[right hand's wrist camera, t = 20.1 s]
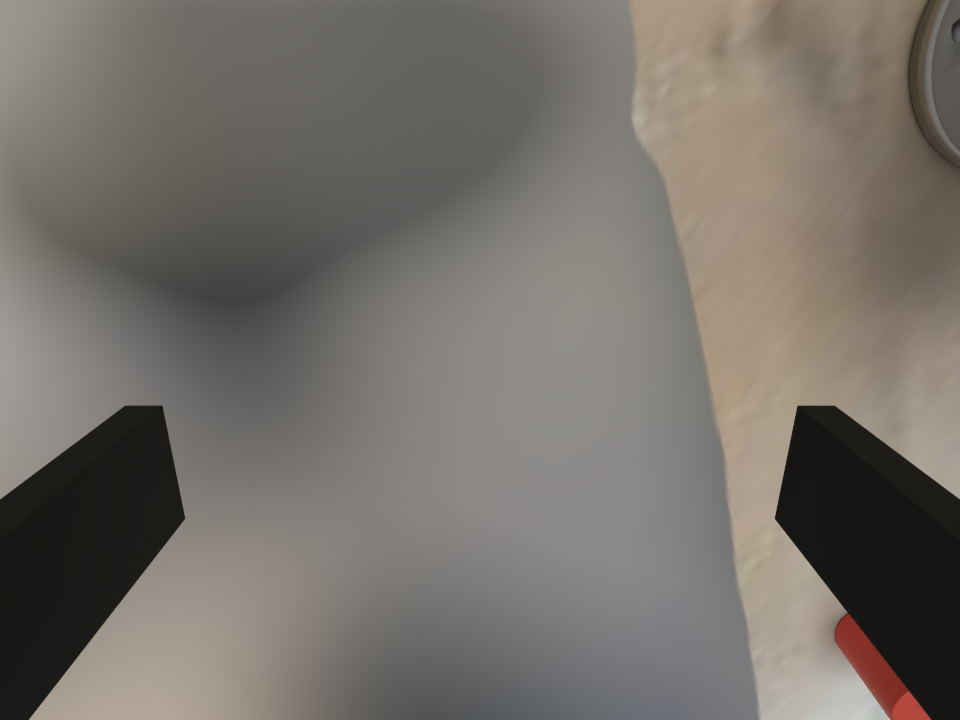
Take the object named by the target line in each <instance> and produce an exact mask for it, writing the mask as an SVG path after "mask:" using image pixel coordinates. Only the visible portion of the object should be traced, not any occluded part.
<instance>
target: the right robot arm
mask: <svg viewBox="0 0 960 720" xmlns="http://www.w3.org/2000/svg"><path fill="white" fill-rule="evenodd" d="M910 91H911V98H912V104H913V108H914V112H915V115H916V118H917V121H918V123H919V126H920V128H921V130H922V132H923V134H924V135H925V137H926V138H927V140H928V141H929V143H930V144H931V145H932V146H933V147H934V148H935V150H936V151H937V152H938V153H940V154H941V155H942V156H943V157H944V158H945V159H947V160H948V161H950V162H951V163H953V164H955V165H956V166H958V167H960V0H930V2H929V4H928V6H927V8H926V10H925V13H924V15H923V17H922V20H921V22H920V25H919V28H918V31H917V35H916V38H915V42H914V47H913V51H912V58H911V67H910ZM184 519H185V515H184V510H183V506H182V501H181V496H180V491H179V486H178V481H177V476H176V471H175V466H174V461H173V456H172V451H171V446H170V441H169V436H168V431H167V426H166V422H165V416H164V412H163V406H124V407H123V408H122V409H120V410H119V411H118V412H116V413H115V414H114V415H112V416H111V417H110V418H108V419H107V420H106V421H104V422H103V423H102V424H100V425H99V426H98V427H96V428H95V429H94V430H92V431H91V432H90V433H88V434H87V435H86V436H84V437H83V438H82V439H80V440H79V441H78V442H76V443H75V444H74V445H72V446H71V447H70V448H68V449H67V450H66V451H64V452H63V453H62V454H60V455H59V456H58V457H56V458H55V459H54V460H52V461H51V462H50V463H48V464H47V465H46V466H44V467H43V468H42V469H40V470H39V471H38V472H36V473H35V474H34V475H32V476H31V477H30V478H28V479H27V480H26V481H24V482H23V483H22V484H20V485H19V486H18V487H16V488H15V489H14V490H12V491H11V492H10V493H8V494H7V495H6V496H4V497H3V498H2V499H0V720H29V719H30V717H31V716H32V715H33V714H34V712H35V711H36V710H37V708H38V707H39V706H40V705H41V703H42V702H43V701H44V699H45V698H46V697H47V696H48V694H49V693H50V692H51V690H52V689H53V688H54V687H55V685H56V684H57V683H58V681H59V680H60V679H61V678H62V676H63V675H64V674H65V672H66V671H67V670H68V669H69V667H70V666H71V665H72V663H73V662H74V661H75V660H76V658H77V657H78V656H79V654H80V653H81V652H82V651H83V649H84V648H85V647H86V645H87V644H88V643H89V642H90V640H91V639H92V638H93V636H94V635H95V634H96V633H97V631H98V630H99V629H100V627H101V626H102V625H103V624H104V622H105V621H106V620H107V618H108V617H109V616H110V615H111V613H112V612H113V611H114V609H115V608H116V607H117V606H118V604H119V603H120V602H121V600H122V599H123V598H124V597H125V595H126V594H127V593H128V591H129V590H130V589H131V588H132V586H133V585H134V584H135V582H136V581H137V580H138V579H139V577H140V576H141V575H142V573H143V572H144V571H145V570H146V568H147V567H148V566H149V565H150V563H151V562H152V561H153V559H154V558H155V557H156V556H157V554H158V553H159V552H160V550H161V549H162V548H163V547H164V545H165V544H166V543H167V541H168V540H169V539H170V538H171V536H172V535H173V534H174V532H175V531H176V530H177V528H178V527H179V526H180V525H181V523H182V522H183V521H184ZM775 520H776V521H777V522H778V523H779V525H780V526H781V527H782V529H783V530H784V531H785V532H786V534H787V535H788V536H789V538H790V539H791V540H792V541H793V543H794V544H795V545H796V547H797V548H798V549H799V550H800V552H801V553H802V554H803V556H804V557H805V558H806V559H807V561H808V562H809V563H810V565H811V566H812V567H813V568H814V570H815V571H816V572H817V574H818V575H819V576H820V577H821V579H822V580H823V581H824V582H825V584H826V585H827V586H828V588H829V589H830V590H831V591H832V593H833V594H834V595H835V597H836V598H837V599H838V600H839V602H840V603H841V604H842V606H843V607H844V608H845V609H846V611H847V612H848V613H849V615H850V616H851V617H852V618H853V620H854V621H855V622H856V624H857V625H858V626H859V627H860V629H861V630H862V631H863V633H864V634H865V635H866V636H867V638H868V639H869V640H870V642H871V643H872V644H873V645H874V647H875V648H876V649H877V651H878V652H879V653H880V654H881V656H882V657H883V658H884V660H885V661H886V662H887V663H888V665H889V666H890V667H891V669H892V670H893V671H894V672H895V674H896V675H897V676H898V678H899V679H900V680H901V681H902V683H903V684H904V685H905V687H906V688H907V689H908V690H909V692H910V693H911V694H912V696H913V697H914V698H915V699H916V701H917V702H918V703H919V705H920V706H921V707H922V708H923V710H924V711H925V712H926V714H927V715H928V716H929V717H930V719H931V720H960V499H958V498H957V497H956V496H954V495H953V494H952V493H950V492H949V491H948V490H946V489H945V488H944V487H942V486H941V485H940V484H938V483H937V482H936V481H934V480H933V479H932V478H930V477H929V476H928V475H926V474H925V473H924V472H922V471H921V470H920V469H918V468H917V467H916V466H914V465H913V464H912V463H910V462H909V461H908V460H906V459H905V458H904V457H902V456H901V455H900V454H898V453H897V452H896V451H894V450H893V449H892V448H890V447H889V446H888V445H886V444H885V443H884V442H882V441H881V440H880V439H878V438H877V437H876V436H874V435H873V434H872V433H870V432H869V431H868V430H866V429H865V428H864V427H862V426H861V425H860V424H858V423H857V422H856V421H854V420H853V419H852V418H850V417H849V416H848V415H846V414H845V413H844V412H842V411H841V410H840V409H838V408H837V407H836V406H797V411H796V416H795V421H794V426H793V431H792V436H791V441H790V446H789V451H788V456H787V461H786V466H785V471H784V476H783V481H782V486H781V491H780V496H779V501H778V505H777V510H776V515H775Z"/></svg>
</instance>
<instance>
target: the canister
mask: <svg viewBox="0 0 960 720" xmlns="http://www.w3.org/2000/svg"><path fill="white" fill-rule="evenodd" d="M835 640H836V643H837V645H838V646H839V648H840V649H841V651H842V652H843V653H844V655H845V656H846V658H847V659H848V660H849V662H850V663H851V665H852V666H853V668H854V669H855V670H856V672H857V673H858V675H859V676H860V677H861V679H862V680H863V682H864V683H865V685H866V686H867V687H868V689H869V690H870V692H871V693H872V694H873V696H874V697H875V699H876V700H877V701H878V703H879V704H880V706H881V707H882V709H883V710H884V711H885V713H886V714H887V716H888V717H889V718H890V720H931V719H930V717H929V716H928V715H927V714H926V712H925V711H924V710H923V708H922V707H921V706H920V705H919V703H918V702H917V701H916V699H915V698H914V697H913V696H912V694H911V693H910V692H909V690H908V689H907V688H906V687H905V685H904V684H903V683H902V681H901V680H900V679H899V678H898V676H897V675H896V674H895V672H894V671H893V670H892V669H891V667H890V666H889V665H888V663H887V662H886V661H885V660H884V658H883V657H882V656H881V654H880V653H879V652H878V651H877V649H876V648H875V647H874V645H873V644H872V643H871V642H870V640H869V639H868V638H867V636H866V635H865V634H864V633H863V631H862V630H861V629H860V627H859V626H858V625H857V624H856V622H855V621H854V620H853V618H852V617H851V616H850V615H849V614H847V615H846V616H845V617H844V618H843V619H842V620H841V621H840V623H839V624H838V626H837V628H836V631H835Z"/></svg>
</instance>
